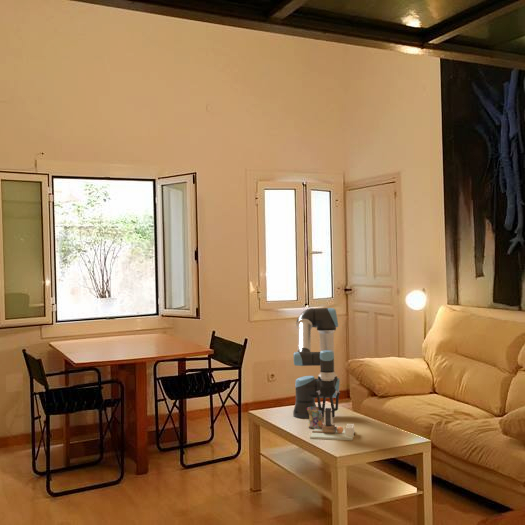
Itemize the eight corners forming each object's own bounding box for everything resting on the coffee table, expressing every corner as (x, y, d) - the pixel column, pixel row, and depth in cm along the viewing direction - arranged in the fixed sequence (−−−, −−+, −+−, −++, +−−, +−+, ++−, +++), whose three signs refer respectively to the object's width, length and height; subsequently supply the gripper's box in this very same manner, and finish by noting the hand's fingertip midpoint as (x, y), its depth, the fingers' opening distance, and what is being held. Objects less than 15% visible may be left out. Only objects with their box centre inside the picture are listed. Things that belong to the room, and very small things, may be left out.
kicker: (323, 429, 334) (323, 407, 334) (337, 430, 332) (336, 407, 332) (322, 432, 329) (321, 409, 329) (336, 432, 328) (335, 409, 328)
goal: (346, 431, 333) (346, 423, 333) (354, 431, 332) (354, 424, 332) (345, 435, 325) (345, 427, 325) (353, 435, 324) (352, 428, 324)
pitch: (314, 430, 340) (314, 427, 340) (354, 431, 335) (354, 428, 335) (310, 438, 324) (310, 435, 324) (352, 440, 319) (352, 437, 319)
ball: (335, 429, 332) (339, 424, 331) (341, 433, 331) (344, 427, 331) (335, 431, 328) (338, 426, 328) (340, 435, 328) (344, 429, 327)
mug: (326, 428, 343) (326, 409, 343) (310, 430, 341) (310, 410, 341) (318, 423, 355) (317, 404, 355) (303, 424, 352) (302, 406, 352)
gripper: (311, 380, 329) (312, 424, 329) (341, 381, 325) (342, 425, 325) (313, 377, 337) (314, 421, 336) (343, 378, 333) (344, 422, 333)
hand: (328, 423), depth 331 cm, fingers closed on kicker, 3 cm apart
